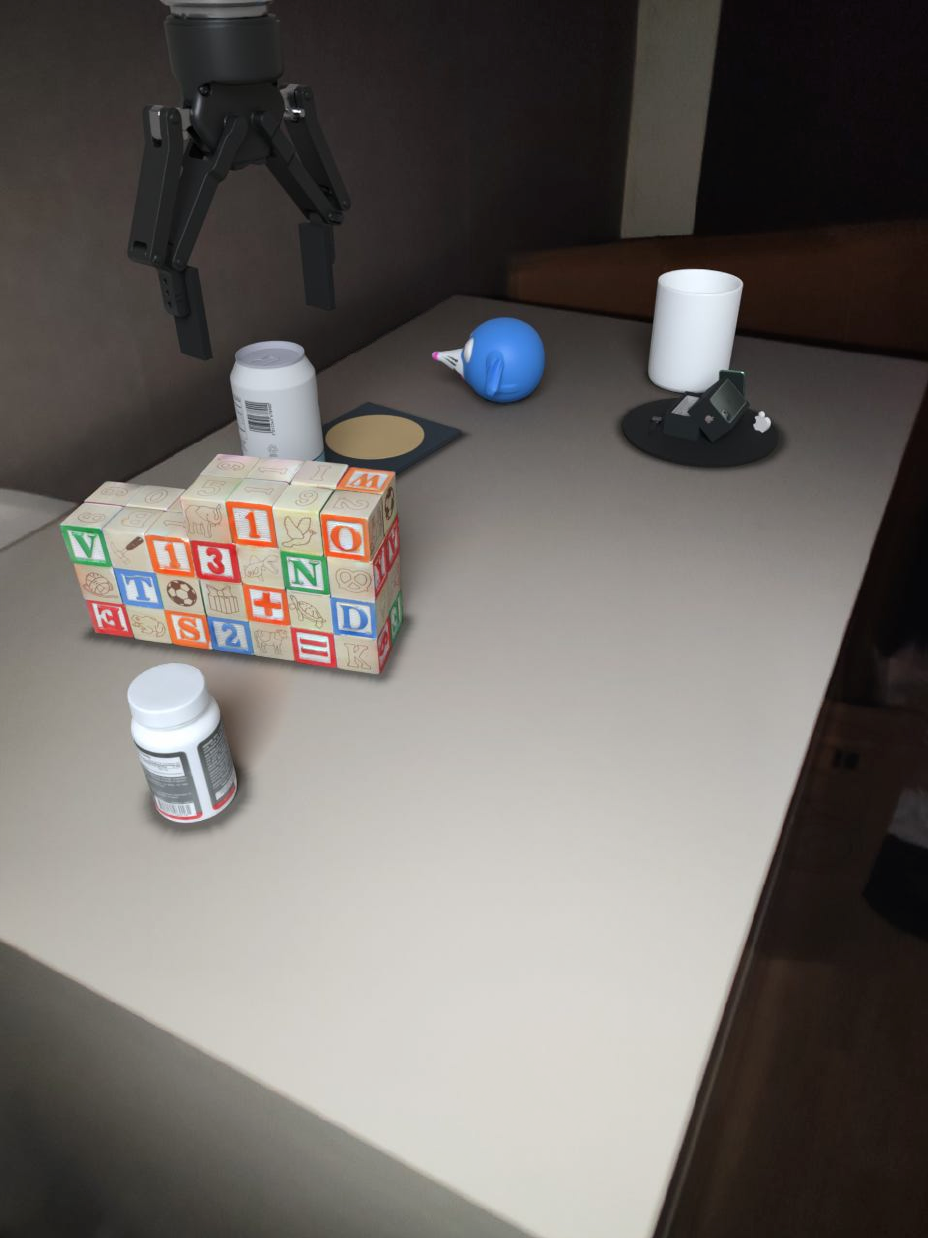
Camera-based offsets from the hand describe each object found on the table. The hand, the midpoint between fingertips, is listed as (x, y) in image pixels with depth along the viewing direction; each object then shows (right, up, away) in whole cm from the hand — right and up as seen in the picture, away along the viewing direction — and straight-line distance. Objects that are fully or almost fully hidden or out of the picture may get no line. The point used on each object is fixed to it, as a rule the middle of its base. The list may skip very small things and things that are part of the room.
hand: (262, 330), depth 73 cm
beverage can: (+1, -11, +8) cm, 14 cm away
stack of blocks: (+1, -24, -7) cm, 25 cm away
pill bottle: (+1, -33, -20) cm, 39 cm away
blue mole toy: (+19, 0, +25) cm, 31 cm away
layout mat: (+4, -9, +13) cm, 16 cm away
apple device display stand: (+39, -5, +18) cm, 43 cm away
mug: (+41, +4, +29) cm, 51 cm away
